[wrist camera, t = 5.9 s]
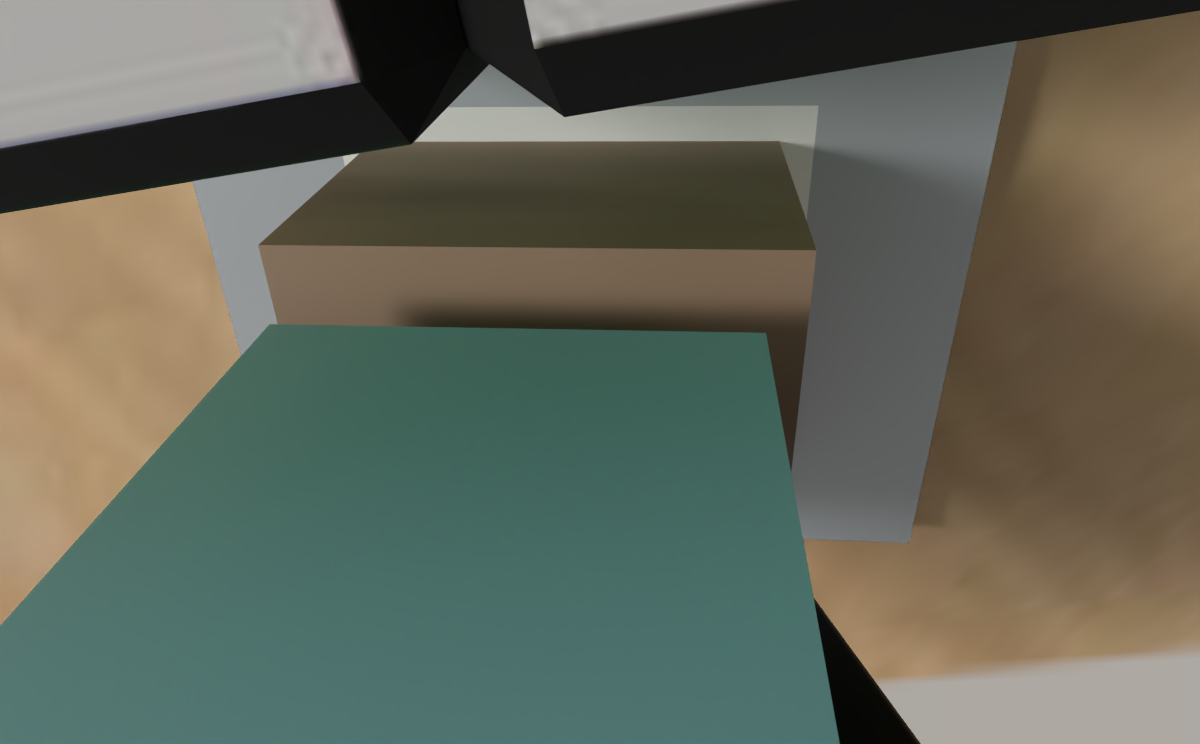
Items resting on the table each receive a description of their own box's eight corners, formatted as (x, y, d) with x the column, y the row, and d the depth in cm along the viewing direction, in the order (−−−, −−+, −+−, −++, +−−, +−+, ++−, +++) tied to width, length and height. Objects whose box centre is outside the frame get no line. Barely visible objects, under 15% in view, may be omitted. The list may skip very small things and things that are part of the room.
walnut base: (751, 473, 15) (771, 650, 12) (425, 463, 16) (353, 629, 12) (779, 141, 12) (816, 251, 9) (371, 141, 13) (257, 244, 9)
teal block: (765, 332, 8) (856, 840, 4) (735, 678, 11) (771, 1212, 7) (269, 324, 9) (-132, 774, 4) (354, 659, 11) (152, 1150, 7)
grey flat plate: (901, 521, 16) (909, 542, 16) (298, 499, 17) (286, 519, 17) (1005, 20, 12) (1020, 27, 11) (173, 30, 13) (152, 37, 12)
